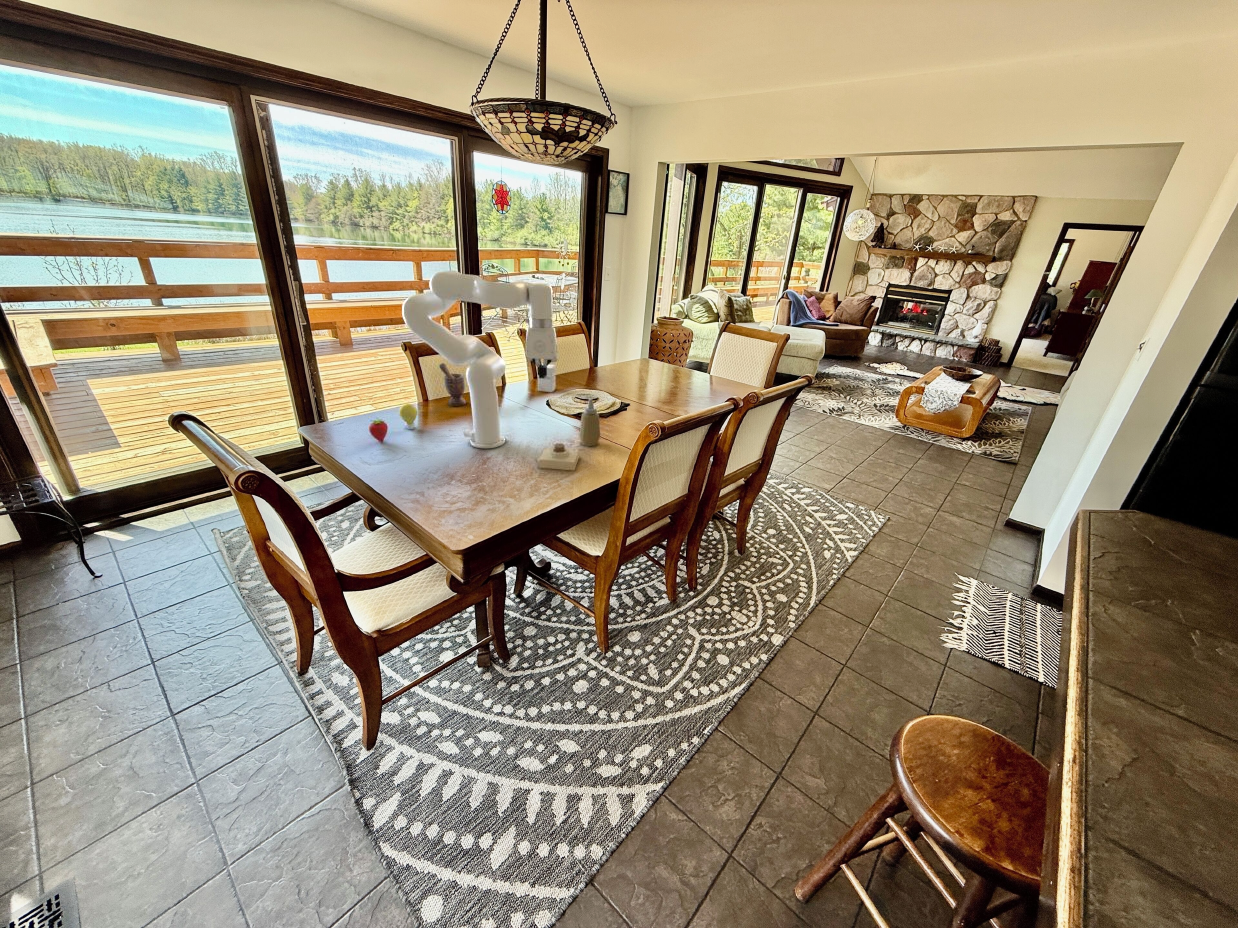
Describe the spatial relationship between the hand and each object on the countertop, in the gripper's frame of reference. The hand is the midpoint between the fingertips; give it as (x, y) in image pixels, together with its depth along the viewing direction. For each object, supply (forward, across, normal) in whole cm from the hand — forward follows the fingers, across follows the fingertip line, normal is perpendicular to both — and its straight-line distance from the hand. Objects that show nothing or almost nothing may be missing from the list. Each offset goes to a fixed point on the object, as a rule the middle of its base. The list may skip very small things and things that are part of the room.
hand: (542, 377), depth 167 cm
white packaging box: (+27, -15, +73) cm, 79 cm away
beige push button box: (+27, +8, -11) cm, 30 cm away
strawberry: (+27, -60, -5) cm, 66 cm away
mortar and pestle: (+27, -50, +41) cm, 70 cm away
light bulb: (+27, -56, +10) cm, 63 cm away
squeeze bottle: (+27, +16, +8) cm, 33 cm away
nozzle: (+22, +8, -11) cm, 26 cm away
